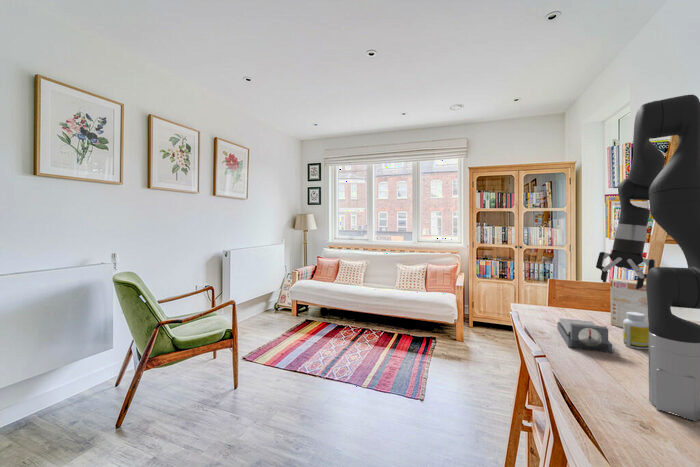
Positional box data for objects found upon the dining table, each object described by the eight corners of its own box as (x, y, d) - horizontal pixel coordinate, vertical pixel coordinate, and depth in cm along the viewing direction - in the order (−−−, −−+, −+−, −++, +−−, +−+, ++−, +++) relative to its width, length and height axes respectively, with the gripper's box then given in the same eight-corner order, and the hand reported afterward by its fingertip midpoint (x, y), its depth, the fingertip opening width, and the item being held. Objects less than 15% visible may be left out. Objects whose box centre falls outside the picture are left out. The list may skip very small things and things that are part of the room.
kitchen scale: (612, 353, 99) (612, 330, 98) (568, 348, 104) (568, 325, 104) (593, 333, 117) (593, 313, 117) (557, 329, 122) (557, 310, 122)
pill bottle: (654, 350, 100) (654, 316, 100) (631, 349, 101) (631, 316, 101) (639, 343, 106) (639, 311, 106) (618, 342, 108) (618, 310, 108)
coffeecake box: (666, 333, 115) (666, 283, 114) (656, 336, 112) (656, 285, 112) (619, 322, 129) (619, 277, 128) (609, 324, 126) (609, 279, 125)
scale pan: (606, 339, 102) (606, 335, 102) (568, 334, 107) (568, 331, 107) (592, 324, 117) (592, 321, 117) (559, 321, 122) (559, 318, 122)
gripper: (600, 235, 102) (591, 281, 104) (658, 242, 91) (648, 292, 93) (604, 235, 107) (596, 279, 108) (661, 241, 96) (651, 290, 97)
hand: (620, 285), depth 101 cm, fingers open, 8 cm apart
